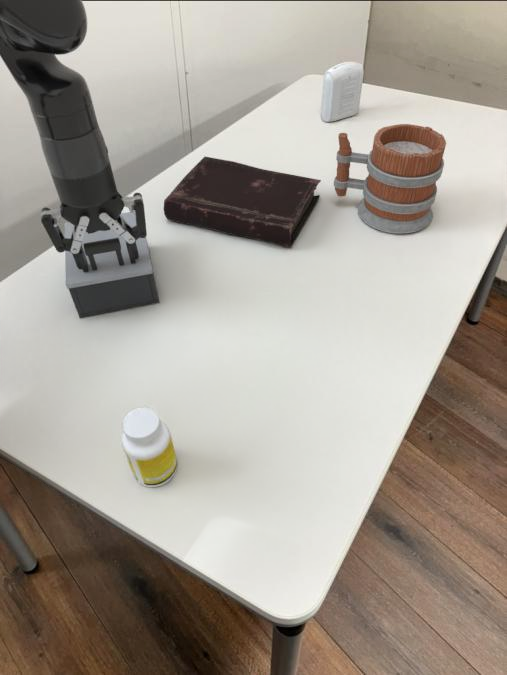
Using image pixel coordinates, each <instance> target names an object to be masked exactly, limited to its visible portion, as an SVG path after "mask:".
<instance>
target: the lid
mask: <svg viewBox="0 0 507 675" xmlns="http://www.w3.org/2000/svg"><path fill="white" fill-rule="evenodd" d="M120 215H121V216H122V217H123V218H124V220H125V222H126V223H127V224H128V225H129V226H130V227H131V228H132V227H134V226H136V216H135V214H133V213H131V212H130V211H128V212H121V214H120ZM73 226H74V225H73V224H71V223H70V222H68V221H65V222H64V238H69V239H71V235H72V231H73ZM146 239H147V236H146V237H145V238H138V239H137V240H136V245H137V249H138V254H139V258H138V259H135V261H136V263H132V264H131V261H130V258H129V254H128V250H127V246H126V240H124V239H123V238H122V237H121V236H119V235H117V234H116V233H115V232H114V231H113V230H112V229H111V228H110V230H107V231H97V232H95V233H90V234H88V232H86V233H85V236H84V240H83V242H82V247H83V250H84V253H85V256H86V259H87V262H88V269H89V271H88V272H83V269H79V268H78V267H77V265H76V263H75V260H74V257H73V254H72V253H71V252H69V251H64V259H65V260H64V261H65V262H64V263H65V264H64V265H65V267H64V268H65V287H66V289H67V290H69V289H70V288H75V287H81V286H86V285H92V284H97V283H103V282H108V281H114V280H119V279H125V278H130V277H136V276H141V275H147V274H152V273H154V269H153V270H152V268H153V264H152V265H151V263H152V259H151V260H150V258H151V254H150V255H149V253H150V249H149V250H148V248H149V244H148V239H147V240H146ZM147 244H148V245H147Z"/></svg>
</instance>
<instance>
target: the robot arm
mask: <svg viewBox="0 0 507 675" xmlns="http://www.w3.org/2000/svg"><path fill="white" fill-rule="evenodd" d="M87 32H88V16H87V11H86V8H85V4H84V3H83V0H0V58H1V60H2V61H3V63H4V65H5V66H6V68H7V70H8V71H9V73H10V75H11V76H12V78H13V80H14V81H15V82H16V84H17V85H18V87H19V88H20V90H21V91H22V93H23V94H24V96H25V97H26V100H27V104H28V106H29V109H30V112H31V116H32V118H33V121H34V124H35V127H36V130H37V132H38V136H39V140H40V144H41V149H42V153H43V156H44V159H45V162H46V164H47V167H48V170H49V173H50V176H51V178H52V182H53V184H54V187H55V190H56V193H57V195H58V199H59V201H60V202H59V203H60V206H59V207H56V208H53V209H50V207H42V209H41V216H40V218H41V219H40V222H41V224H42V225H43V228H44V230H45V232H46V233H47V235H48V237H49V239H50V241H51V243H52V244H53V246H54V249H55V251H56V252H58V253H65V251H69V252H71V253H72V254H73V257H74V260H75V263H76V265H77V267H78V268H79V269H83V272H88V271H89V269H88V262H87V259H86V256H85V253H84V250H83V247H82V242H83V240H84V236H85V233H86V232H88V234H90V233H95V232H97V231H107V230H110V228H111V229H112V230H113V231H114V232H115V233H116V234H117V235H119V236H121V237H122V238H123V239H124V240H126V246H127V250H128V254H129V258H130V261H131V264H132V263H136V261H135V259H138V258H139V254H138V249H137V245H136V240H137V239H138V238H145V237H146V238H147V236H148V233H147V232H148V231H147V223H146V213H145V204H144V199H143V195H142V194H141V192H135V193H133V195H132V196H123V195H122V194H120V193H119V191H118V188H117V185H116V180H115V176H114V173H113V169H112V165H111V161H110V157H109V150H108V146H107V144H106V141H105V137H104V135H103V133H102V130H101V128H100V125H99V122H98V118H97V114H96V110H95V106H94V103H93V99H92V95H91V92H90V91H91V90H90V88H89V85H88V82H87V81H86V78H85V77H84V76H83V75H82V74H80V72H78V71H77V70H74V69H73V68H71V67H68V66H67V65H65V64H64V63H63V62H61V61H60V59H58V57H57V55H59V56H60V55H61V56H63V55H67V54H70V53H72V52H75V51H76V50H78V49H79V48H80V46H81V45H82V44H83V42H84V41H85V40H86V36H87ZM125 207H126V208H128V212H131V213H133V214H135V216H136V226H134V227H132V228H131V227H130V226H129V225H128V224H127V223H126V222H125V220H124V218H123V217H122V216H121V215H120V214H121V213H123V210H124V208H125ZM61 218H62V219H64V220H65V221H66V222H70V223H71V224H73V225H74V226H73V231H72V235H71V239H69V238H65V235H64V234H63V232H62V230H61V228H60V225H61Z"/></svg>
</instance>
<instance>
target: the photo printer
mask: <svg viewBox="0 0 507 675" xmlns="http://www.w3.org/2000/svg"><path fill="white" fill-rule="evenodd" d="M364 74H365V72H364V67H363V64H362V63H359V62H356V61H344V62H341V63H338V64H336V65H333V66H332V67H330V68H329V69H327V70H326V71H325V73H324V75H323V82H322V94H321V106H320V117H321V120H322V121H323V122H326V123H330V122H331V123H332V122H336V121H339V120H343V119H346V118H350V117H353V116H356V115H358V114H359V111H360V104H361V96H362V90H363V81H364Z"/></svg>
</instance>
